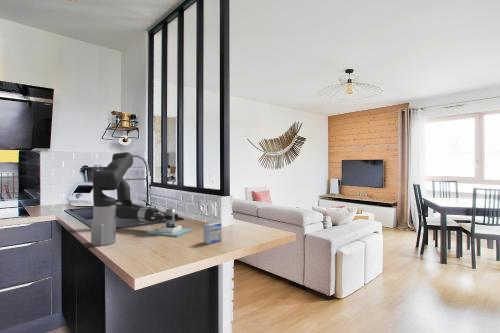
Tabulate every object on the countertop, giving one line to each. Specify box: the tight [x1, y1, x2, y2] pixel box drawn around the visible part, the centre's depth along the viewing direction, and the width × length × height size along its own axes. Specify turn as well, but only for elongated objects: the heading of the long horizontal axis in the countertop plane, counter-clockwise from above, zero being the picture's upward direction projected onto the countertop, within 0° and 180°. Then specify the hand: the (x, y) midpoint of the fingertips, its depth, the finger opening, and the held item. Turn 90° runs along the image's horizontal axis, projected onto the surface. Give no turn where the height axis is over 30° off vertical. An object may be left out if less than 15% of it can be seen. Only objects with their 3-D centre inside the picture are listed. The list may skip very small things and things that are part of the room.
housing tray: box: [147, 224, 193, 238], centre depth 149 cm, size 14×18×3 cm
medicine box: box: [202, 221, 222, 245], centre depth 132 cm, size 8×4×9 cm, turn 143°
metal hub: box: [165, 208, 176, 229], centre depth 149 cm, size 4×4×10 cm
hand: (174, 217), depth 149 cm, fingers open, 4 cm apart
